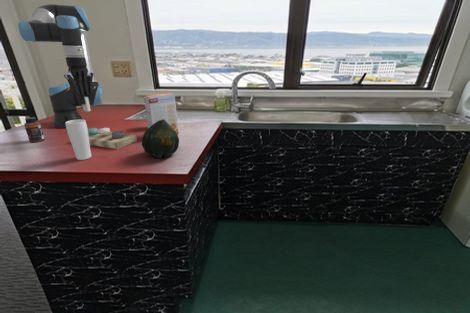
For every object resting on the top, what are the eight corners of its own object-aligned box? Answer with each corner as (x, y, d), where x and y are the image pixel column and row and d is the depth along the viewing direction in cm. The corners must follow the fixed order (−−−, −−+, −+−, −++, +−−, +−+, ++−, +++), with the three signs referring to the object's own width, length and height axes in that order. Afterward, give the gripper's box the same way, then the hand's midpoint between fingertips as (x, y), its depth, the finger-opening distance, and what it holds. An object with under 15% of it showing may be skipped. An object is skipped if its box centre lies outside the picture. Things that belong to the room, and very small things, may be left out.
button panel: (75, 142, 118) (73, 135, 116) (96, 135, 128) (95, 129, 127) (117, 149, 109) (116, 142, 108) (136, 141, 119) (135, 134, 118)
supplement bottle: (48, 139, 121) (41, 117, 117) (35, 143, 116) (27, 119, 112) (39, 138, 123) (32, 116, 119) (26, 142, 118) (18, 118, 114)
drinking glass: (79, 155, 102) (70, 119, 97) (96, 154, 103) (88, 119, 97) (71, 161, 96) (60, 123, 90) (89, 161, 96) (80, 123, 91)
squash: (136, 151, 91) (160, 118, 91) (134, 140, 104) (155, 112, 104) (168, 169, 98) (190, 139, 98) (162, 158, 111) (182, 131, 111)
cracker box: (172, 132, 134) (169, 92, 126) (179, 134, 130) (175, 93, 122) (148, 137, 125) (142, 95, 117) (154, 140, 121) (148, 96, 113)
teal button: (84, 134, 119) (83, 130, 118) (92, 131, 123) (92, 127, 122) (91, 135, 117) (90, 131, 116) (100, 132, 121) (99, 128, 120)
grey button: (109, 137, 113) (108, 133, 112) (117, 134, 118) (117, 130, 117) (118, 138, 112) (117, 134, 111) (126, 135, 116) (125, 131, 115)
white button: (96, 134, 116) (95, 130, 115) (104, 131, 120) (104, 127, 119) (104, 135, 114) (103, 131, 113) (112, 132, 118) (112, 128, 117)
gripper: (67, 57, 100) (80, 114, 109) (94, 56, 111) (104, 108, 121) (54, 56, 103) (68, 113, 112) (82, 56, 114) (93, 107, 123)
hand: (87, 110), depth 116 cm, fingers closed
